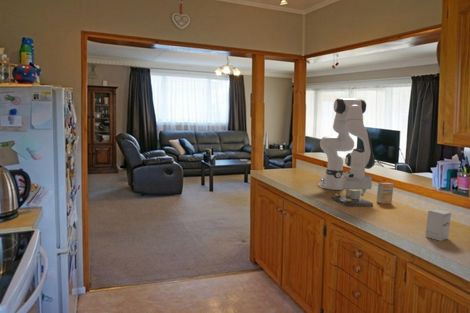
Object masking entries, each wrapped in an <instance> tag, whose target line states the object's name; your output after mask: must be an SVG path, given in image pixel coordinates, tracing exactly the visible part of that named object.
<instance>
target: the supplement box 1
mask: <svg viewBox="0 0 470 313" xmlns="http://www.w3.org/2000/svg"><path fill="white" fill-rule="evenodd" d="M394 185H395V184H394V183H391V182H378V184H377V193H376V195H377V196H376V203H378V204H381V205H385V204H387V205H389V204H390V205H392V203H393V202H392V201H393V193H394Z"/></svg>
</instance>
